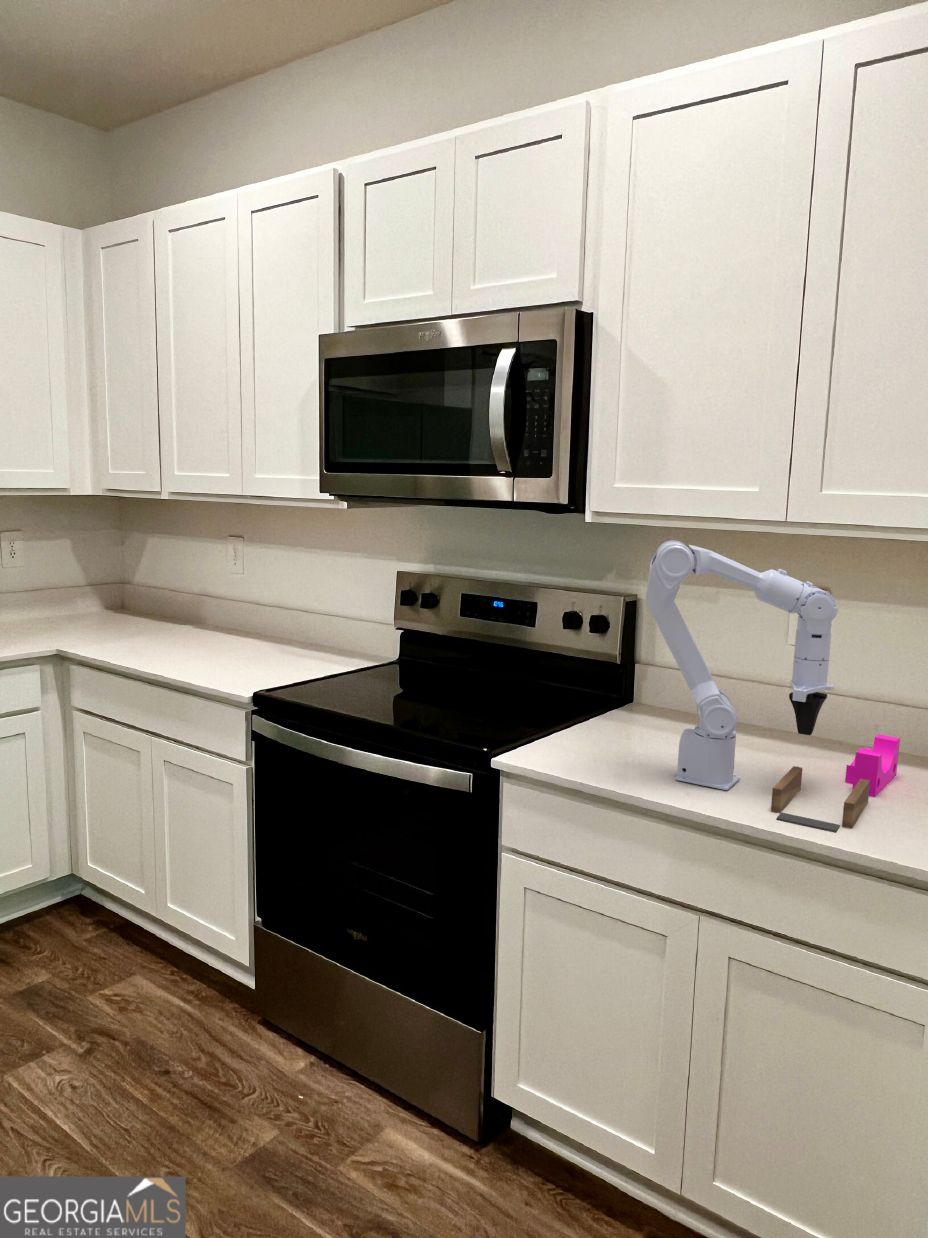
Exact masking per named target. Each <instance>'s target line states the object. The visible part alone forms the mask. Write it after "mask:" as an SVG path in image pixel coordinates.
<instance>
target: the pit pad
mask: <svg viewBox="0 0 928 1238" xmlns="http://www.w3.org/2000/svg"><path fill="white" fill-rule="evenodd" d="M776 820H777V821H781V822H785V823H791V824H794V825H799V826H804V827H807V828H814V829H818V830H824V831H826V832H827V831H828V832H831V833H837V832H838V830H839V829H840V827H841V825H840V824H839V823H838V824H837V823H834V822H828V821H824V820H819V819H814V818H809V817H804V816H800V815H797V814H796V815H795V814H790V813H786V812H783V811H782V812H781V813H778V816H777V817H776Z"/></svg>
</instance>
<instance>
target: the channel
mask: <svg viewBox="0 0 928 1238" xmlns="http://www.w3.org/2000/svg"><path fill="white" fill-rule="evenodd" d="M802 778H803V767H800V766H794V765H793V766H792V767H791V768H790V769H789V771H787V773H786V774H784V776H783V777H781V778H780V780H778V781H777V783H776V784H775V785H774V786H773V787H772V791H771V804H770V805H771V806H770V812H772V813H777V814H780V813H781V812H782V813H783V810H785V808H786V807H787V806H788V805H789V804H790V802H791V801H792V800H793V799H794V798H795V797H796V796H797V795H798V793H799V792H800V791H801V790H802V789H801V788H802ZM869 786H870V780H866V779H860V780H859V781H858V783H857V784H856V786H855V787H854V789H853V790H851V791H850V793H849V794H848V796H847V797H846V799H845V800H844V802H843V808H842V821H841V822H842V823H841V827H842V828H847V829H853V828H854V826H855V824H856V823H857V821H858V819H859V818H860V817H861V815H862V813H863V811H864V810H865V808H866V806H868V804H869V797H870V796H869Z"/></svg>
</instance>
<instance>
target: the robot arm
mask: <svg viewBox="0 0 928 1238" xmlns="http://www.w3.org/2000/svg"><path fill="white" fill-rule="evenodd" d="M688 546H689V547H688ZM688 546H687V545H686V544H684V543H683V542H682V541H679V540H675V539H674V540H672V539H671V540H667V541H664V542H663V543H662V544H661V545H660V546H659V547H657V549H656V551H655V553H654V555H653V557H652V558H651V561H650V565H649V571H648V580H647V586H646V592H645V602H646V605H647V607H648V609H649V611H650V613H651V614H652V617H653V619H654V621H655V623H656V625H657V627H658V629H659V630H660V633H661V635H662V637H663V639H664V640H665V642H666V645H667V646H668V649H669V651H670V653H671V654H672V657H673V659H674V660H675V662H676V664H677V667H678V668H679V670H680V673H681V674H682V677H683V678H684V681H685V682H686V684H687V686H688V688H689V690H690V692H691V695H692V696H693V699H694V701H695V704H696V712H697V715H698V717H699V720H700V721H699V722H698V723H697V725H695V726H694V728H685V729H684V730H683V731H682V733H681V735H680V739H679V743H678V756H677V770H676V771H677V772H676V773H677V774H676V776H675V780H676V781H680V782H684V783H689V784H693V785H699V786H704V787H708V788H714V789H719V790H723V791H728V790H730V789H731V788H732V787H733V786H734V785H735V784H736V783H738V781H740V780H741V776H739V775H735V774H734V771H735V758H736V757H735V756H736V744H737V743H736V741H737V730H736V728H737V726H738V723H739V722H738V721H739V719H738V714H737V712H736V709H735V708H734V707H733V704H732V701H731V699H730V697H728V695H726V693H724V692H722V691H721V690H720V689H719V687H718V685H717V683H716V680H715V679H714V678H713V677H714V676H712V673H711V672H710V670H709V667H708V665H707V663H706V662H705V660H704V658H703V655H702V654H701V651H700V649H699V648H698V646H697V644H696V642H695V639H694V637H693V635H692V633H691V632H690V630H689V628H688V626H687V624H686V622H685V620H684V618H683V616H682V614H681V612H680V610H679V607H678V606H677V604H676V602H675V599H676V596H677V595H678V592H679V589H680V586H681V584H682V583H684V581H685V580H686V579H687V578H688V577H689V576H690V574H691V572H692V573H693V574H694V576H701V575H706V574H707V575H708V574H713V575H716V576H718V577H721V578H724V579H726V580H729V581H731V582H734V583H737V584H739V585H740V586H743V587H746V588H750V589H752V590H753V592H754V595H755V597H756V599H757V600H758V601H760V602H762V603H765V604H768V605H770V606H772V607H775V608H777V609H779V610H781V611H784V612H786V613H789V614H791V615H792V614H797V615H798V616H797V626H796V627H797V628H796V630H795V638H794V639H795V641H794V651H793V665H792V675H791V680H790V687H791V688H792V691H791V692H790V693H789V694H788V697H789V698H788V699H789V701H790V704H791V706H792V709H793V711H794V716H795V722H796V723H795V725H796V729H797V734H798V735H799V734H800V735H804V736H812V734H813V732H814V730H815V727H816V723H817V720H818V716H819V713H820V711H821V709H822V706H823V704H824V703H825V701H826V700H827V698H828V693H825V692H823V691H833V690H834V689H835V684H831V683H828V678H829V677H828V675H829V664H830V655H831V653H830V652H831V643H832V640H831V639H832V621H834V619H835V618H836V616H837V615H838V613H839V609H838V607H837V603H836V599H835V598H834V597H833V596H832V595H831V594H830V593H828V592H827V591H825V590H823V589H821V588H820V587H819V586H815V585H814V583H812V582H811V581H806V582H803V581H801V580H799V579H797V578H794V577H792V576H789V575H787V574H788V572H787V571H786V570H784V569H782V568H778V569H777V570H775V569H771V568H770V569H768V570H766V571H763V572H759V571H757V570H755V569H753V568H750V567H748V566H746V565H744V564H741V563H739V562H737V561H735V560H733V559H731V558H727V557H726V556H723V555H722V554H719V553H717V552H715V551H713V550H710V549H707V548H703V547H701V546H697V545H692V544H688ZM689 548H690V549H691V550H690V549H689Z"/></svg>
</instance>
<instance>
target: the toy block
mask: <svg viewBox="0 0 928 1238" xmlns="http://www.w3.org/2000/svg"><path fill="white" fill-rule="evenodd" d="M873 739H874V740H873V745H872V748H869V747H863V746H862V747H861V748H860V749H858V750H856V752H855V756H854V758H853V761H852V763H850V764H846V768H845V778H844V779H845V781H844V783H846V784H850V785H852V788H851V789H852V790H853V789H854V787H855V786H856V784H857V783H858V781H859V780H860V779H866V780H870V786H869V796H868V797H871V798H876V796H878V795H879V794H880V793H881V792H882V791H883V790H884V789H885V788H886V787H887V786H888V785H889V784H890V783H891V782H892V781H893V780H894V779H895V778H896V777H897V773H898V772H897V771H898V762H899V752H900V742H901V738H900V737H897V736H896V737H895V736H889V735H885V734H880V733H879V734H877V735H876V736H874V738H873ZM895 776H896V777H895ZM894 777H895V778H894ZM888 783H889V784H888ZM887 784H888V785H887ZM852 790H851V791H852Z"/></svg>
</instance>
